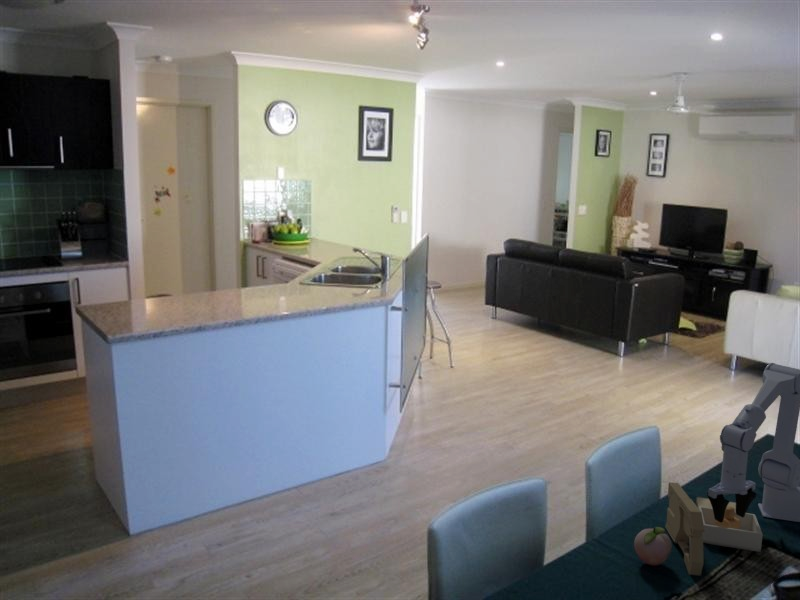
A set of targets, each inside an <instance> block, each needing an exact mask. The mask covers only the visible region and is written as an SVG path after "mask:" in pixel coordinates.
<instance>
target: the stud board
mask: <svg viewBox="0 0 800 600" xmlns="http://www.w3.org/2000/svg"><path fill="white" fill-rule="evenodd" d="M695 501H696V503H695V504H696V506H697V507H699V506H702V507H709V508H712V505H711V502H710V500H709V498H706V497H698V496H697V497H696V500H695ZM727 506H730V507H733V508H734V509H735V511H736V502H733V501H730V502H729V503H728V505H727Z"/></svg>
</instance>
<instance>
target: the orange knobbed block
mask: <svg viewBox="0 0 800 600" xmlns="http://www.w3.org/2000/svg"><path fill="white" fill-rule="evenodd" d="M734 512H735V509H734V508H733V507H730V506H727V507H726V510H725V514H724V520H723V522H719V521H717V522H716V526H720V527H727V528H733V529H740V522H741V520H740V519H738V518H736V517H734Z"/></svg>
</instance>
